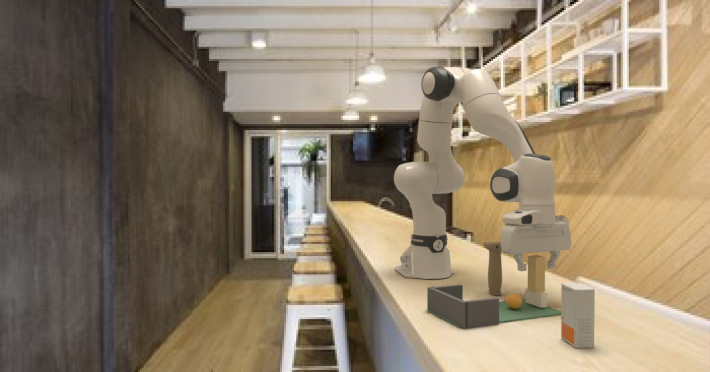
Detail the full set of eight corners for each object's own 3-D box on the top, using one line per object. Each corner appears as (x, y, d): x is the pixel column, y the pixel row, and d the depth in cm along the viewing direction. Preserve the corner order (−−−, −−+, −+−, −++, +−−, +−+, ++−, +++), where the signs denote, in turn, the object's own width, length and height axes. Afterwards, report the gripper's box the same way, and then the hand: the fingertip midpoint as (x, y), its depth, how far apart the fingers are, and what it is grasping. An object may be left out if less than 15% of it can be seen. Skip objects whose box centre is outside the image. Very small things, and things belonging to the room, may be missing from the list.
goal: (427, 310, 130) (427, 287, 130) (460, 306, 133) (460, 284, 133) (463, 329, 114) (463, 302, 114) (499, 324, 118) (499, 298, 118)
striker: (523, 302, 134) (523, 254, 134) (532, 301, 135) (533, 254, 135) (539, 307, 129) (539, 258, 128) (548, 306, 130) (549, 257, 129)
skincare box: (560, 338, 108) (560, 282, 107) (579, 338, 108) (579, 282, 108) (574, 348, 102) (575, 289, 101) (595, 348, 102) (595, 288, 102)
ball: (502, 307, 131) (502, 292, 131) (515, 306, 132) (515, 291, 132) (512, 311, 127) (512, 296, 127) (525, 310, 128) (525, 294, 128)
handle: (508, 296, 144) (508, 244, 144) (485, 296, 144) (485, 244, 144) (504, 292, 149) (504, 241, 148) (482, 292, 149) (482, 241, 149)
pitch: (427, 311, 129) (427, 309, 129) (525, 300, 140) (525, 298, 140) (459, 328, 115) (459, 326, 115) (566, 314, 126) (566, 312, 126)
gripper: (559, 214, 138) (559, 264, 138) (497, 216, 131) (497, 270, 131) (577, 215, 132) (577, 268, 132) (512, 218, 125) (513, 274, 125)
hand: (536, 269), depth 132 cm, fingers open, 8 cm apart
